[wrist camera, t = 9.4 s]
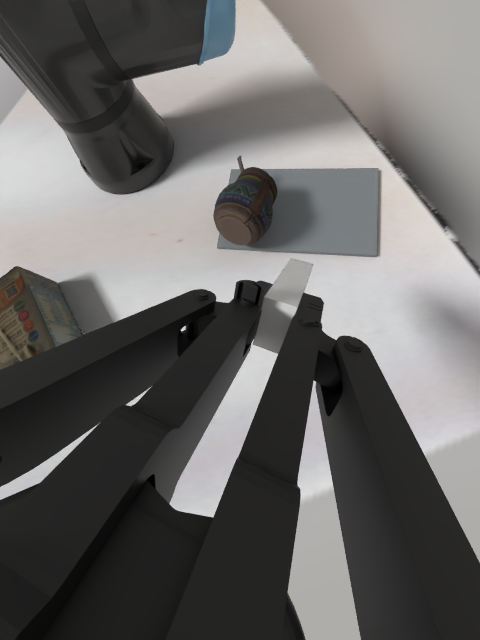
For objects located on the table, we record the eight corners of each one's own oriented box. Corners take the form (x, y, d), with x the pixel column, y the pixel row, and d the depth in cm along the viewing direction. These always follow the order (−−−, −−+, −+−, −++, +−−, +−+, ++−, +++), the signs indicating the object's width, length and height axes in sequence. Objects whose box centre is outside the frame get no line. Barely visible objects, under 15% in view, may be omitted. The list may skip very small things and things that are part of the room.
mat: (231, 172, 37) (231, 169, 37) (377, 171, 34) (378, 168, 33) (217, 248, 34) (217, 246, 34) (375, 257, 31) (376, 254, 30)
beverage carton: (59, 423, 32) (4, 433, 25) (15, 310, 37) (-38, 295, 31) (109, 387, 32) (68, 388, 26) (59, 280, 38) (14, 259, 31)
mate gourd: (274, 241, 28) (301, 182, 31) (223, 192, 24) (259, 132, 28) (240, 259, 34) (265, 208, 37) (194, 222, 30) (227, 169, 34)
